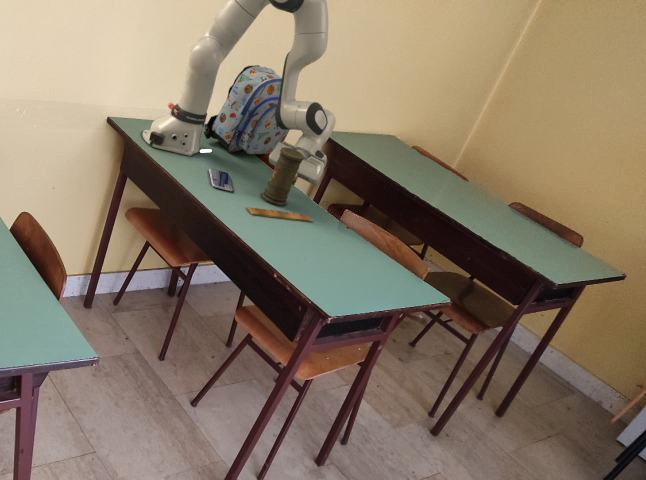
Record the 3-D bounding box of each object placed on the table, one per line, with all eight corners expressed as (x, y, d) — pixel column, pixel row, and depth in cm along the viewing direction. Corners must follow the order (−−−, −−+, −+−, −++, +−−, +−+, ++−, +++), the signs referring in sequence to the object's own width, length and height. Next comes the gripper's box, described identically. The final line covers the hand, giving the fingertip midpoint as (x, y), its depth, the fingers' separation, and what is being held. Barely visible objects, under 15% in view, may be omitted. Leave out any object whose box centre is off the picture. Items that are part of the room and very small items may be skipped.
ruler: (251, 214, 202) (252, 212, 202) (247, 208, 205) (248, 206, 204) (311, 222, 212) (312, 220, 211) (306, 216, 215) (307, 214, 214)
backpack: (242, 167, 234) (272, 85, 216) (195, 138, 245) (220, 57, 226) (288, 159, 257) (318, 84, 239) (243, 133, 268) (269, 59, 249)
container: (286, 200, 221) (306, 153, 210) (284, 209, 214) (304, 161, 203) (263, 191, 221) (281, 144, 211) (260, 200, 214) (279, 151, 203)
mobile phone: (228, 172, 223) (233, 190, 211) (228, 174, 223) (232, 192, 212) (209, 167, 221) (212, 184, 209) (208, 169, 222) (212, 187, 210)
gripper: (280, 134, 219) (259, 165, 217) (330, 158, 213) (310, 190, 212) (280, 144, 225) (260, 174, 223) (329, 167, 219) (309, 198, 218)
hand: (285, 182), depth 217 cm, fingers closed, pressing on container
